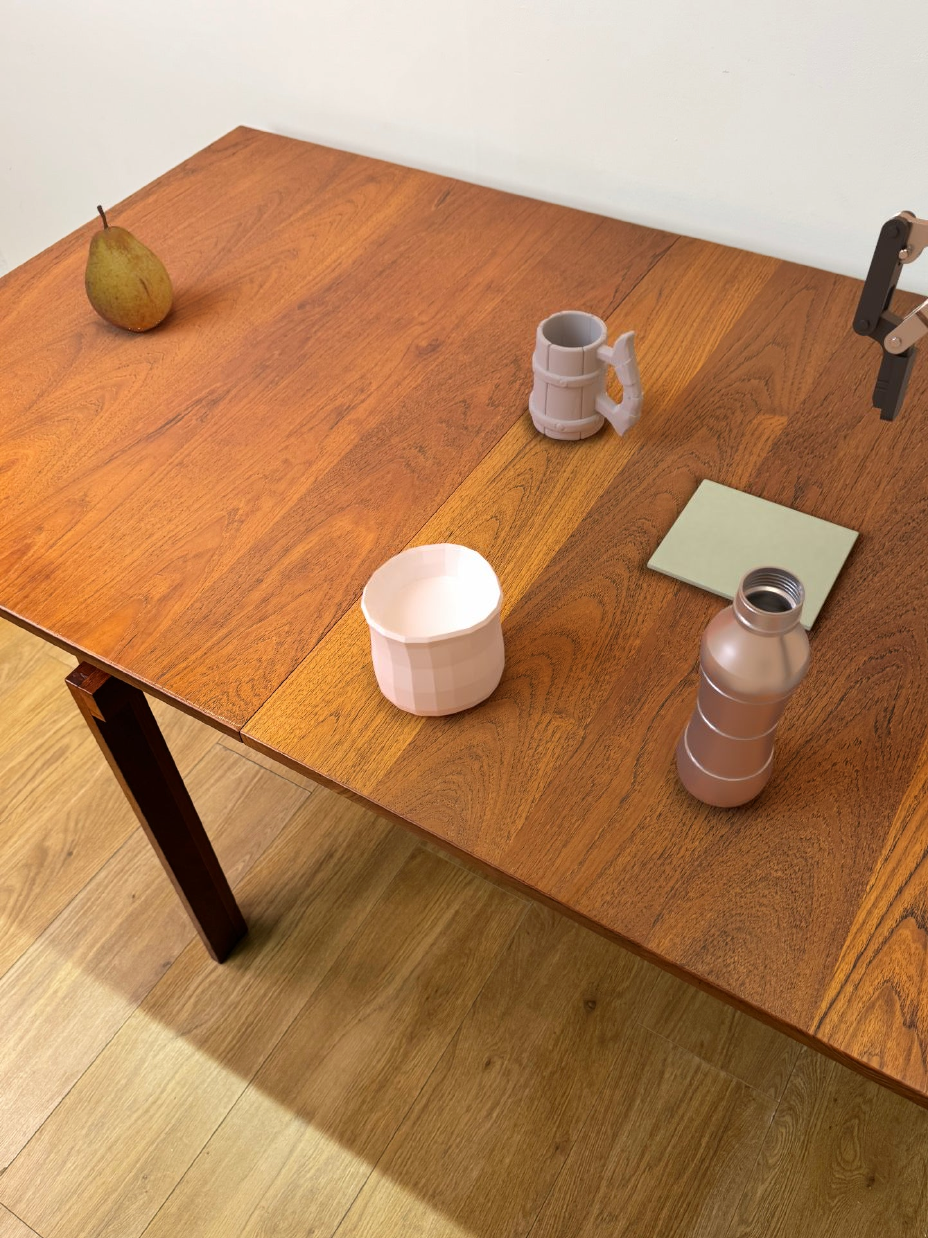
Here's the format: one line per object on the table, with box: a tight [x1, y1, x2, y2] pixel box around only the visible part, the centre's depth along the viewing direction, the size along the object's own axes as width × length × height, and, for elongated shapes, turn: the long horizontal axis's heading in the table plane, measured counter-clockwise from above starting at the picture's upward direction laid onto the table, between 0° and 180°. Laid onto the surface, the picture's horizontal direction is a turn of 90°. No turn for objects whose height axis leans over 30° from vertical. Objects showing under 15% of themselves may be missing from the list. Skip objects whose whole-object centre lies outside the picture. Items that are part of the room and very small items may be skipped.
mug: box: [528, 310, 645, 441], centre depth 91 cm, size 8×12×12 cm, turn 49°
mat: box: [646, 478, 860, 631], centre depth 84 cm, size 14×12×1 cm
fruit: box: [84, 204, 174, 333], centre depth 107 cm, size 9×9×12 cm
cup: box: [360, 542, 506, 717], centre depth 74 cm, size 10×10×10 cm
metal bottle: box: [675, 566, 811, 808], centre depth 63 cm, size 6×7×20 cm
